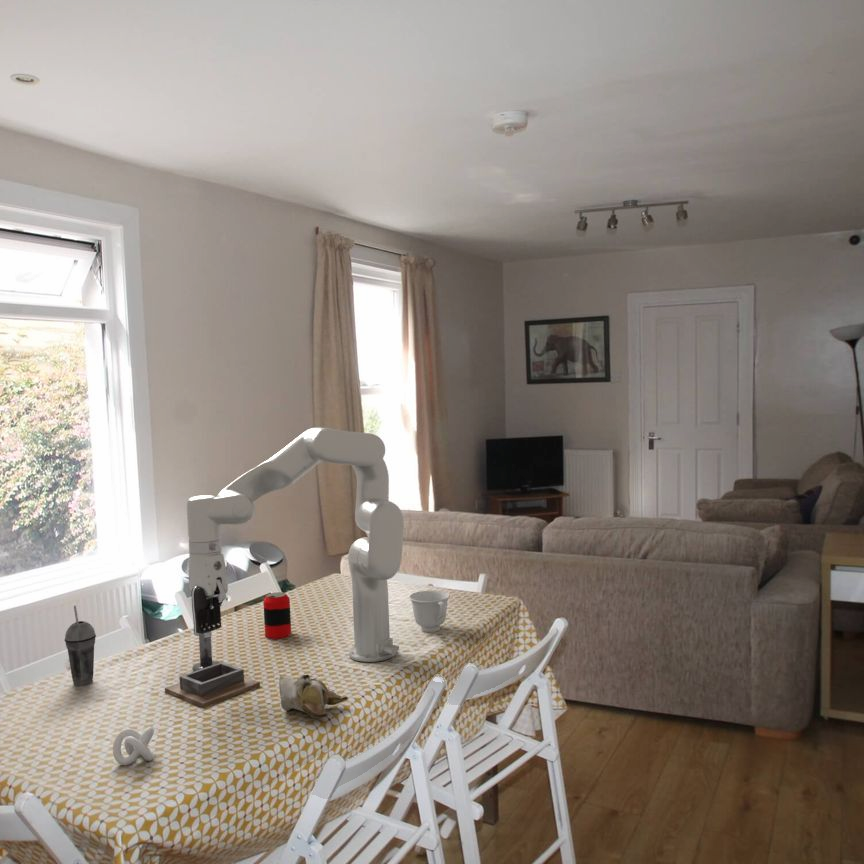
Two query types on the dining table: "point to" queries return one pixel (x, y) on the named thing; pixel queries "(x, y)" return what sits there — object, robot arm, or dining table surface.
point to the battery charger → (201, 611)
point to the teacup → (429, 609)
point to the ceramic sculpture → (307, 695)
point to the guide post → (204, 651)
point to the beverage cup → (81, 651)
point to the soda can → (277, 615)
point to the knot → (133, 745)
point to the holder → (212, 684)
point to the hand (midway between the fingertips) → (209, 621)
